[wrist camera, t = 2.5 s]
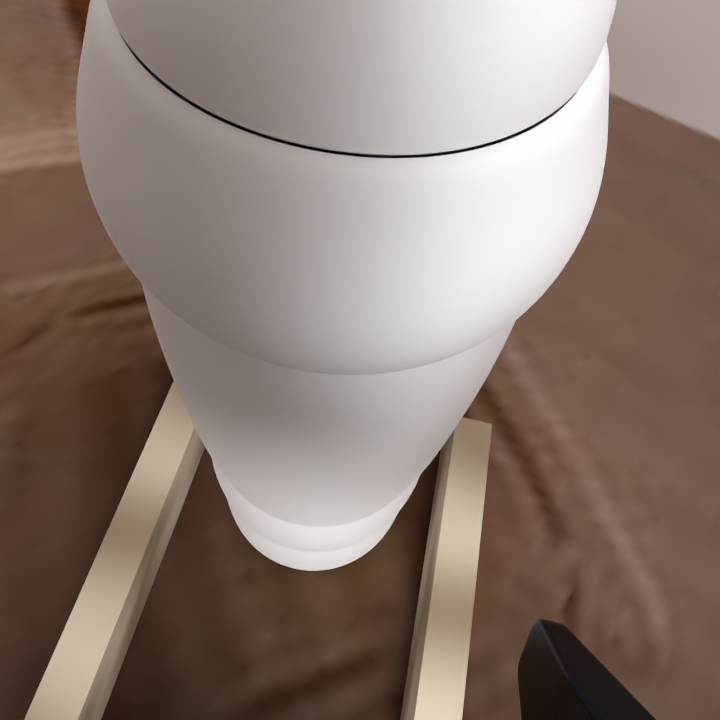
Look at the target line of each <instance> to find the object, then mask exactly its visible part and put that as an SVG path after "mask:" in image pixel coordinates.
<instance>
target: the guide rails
mask: <svg viewBox="0 0 720 720" xmlns="http://www.w3.org/2000/svg"><path fill="white" fill-rule="evenodd" d="M491 430H492V424H489V423H485V422H481V421H476V420H472V419H468V418H464V417H462V419H461V420H460V422H459V423H458V425H457V426H456V428H455V429H454V431H453V432H452V434H451V435H450V437H449V438H448V440H447V441H446V442H445V444H444V445H443V447H442V448H441V452H440V458H439V465H438V472H437V478H436V485H435V491H434V498H433V505H432V511H431V518H430V525H429V531H428V538H427V545H426V551H425V558H424V565H423V571H422V578H421V585H420V591H419V598H418V605H417V611H416V618H415V625H414V631H413V638H412V644H411V651H410V658H409V664H408V671H407V678H406V684H405V691H404V698H403V704H402V711H401V718H400V720H462V713H463V703H464V693H465V683H466V674H467V664H468V654H469V644H470V635H471V625H472V615H473V606H474V596H475V586H476V576H477V567H478V557H479V547H480V537H481V528H482V518H483V508H484V498H485V489H486V479H487V469H488V460H489V450H490V440H491ZM204 449H205V446H204V444H203V442H202V440H201V438H200V436H199V434H198V432H197V430H196V429H195V427H194V425H193V422H192V420H191V418H190V416H189V414H188V412H187V410H186V407H185V405H184V403H183V401H182V398H181V396H180V394H179V391H178V389H177V387H176V384H175V382H174V381H173V383H172V386H171V388H170V390H169V392H168V395H167V397H166V399H165V402H164V404H163V406H162V408H161V411H160V413H159V415H158V417H157V420H156V422H155V424H154V426H153V429H152V431H151V433H150V436H149V438H148V440H147V442H146V445H145V447H144V449H143V451H142V454H141V456H140V458H139V461H138V463H137V465H136V467H135V470H134V472H133V474H132V476H131V479H130V481H129V483H128V485H127V488H126V490H125V492H124V495H123V497H122V499H121V501H120V504H119V506H118V508H117V510H116V513H115V515H114V517H113V519H112V522H111V524H110V526H109V529H108V531H107V533H106V535H105V538H104V540H103V542H102V544H101V547H100V549H99V551H98V553H97V556H96V558H95V560H94V563H93V565H92V567H91V569H90V572H89V574H88V576H87V578H86V581H85V583H84V585H83V587H82V590H81V592H80V594H79V597H78V599H77V601H76V603H75V606H74V608H73V610H72V612H71V615H70V617H69V619H68V621H67V624H66V626H65V628H64V631H63V633H62V635H61V637H60V640H59V642H58V644H57V646H56V649H55V651H54V653H53V655H52V658H51V660H50V662H49V665H48V667H47V669H46V671H45V674H44V676H43V678H42V680H41V683H40V685H39V687H38V689H37V692H36V694H35V696H34V699H33V701H32V703H31V705H30V708H29V710H28V712H27V714H26V717H25V719H24V720H101V719H102V716H103V713H104V711H105V708H106V705H107V703H108V700H109V698H110V695H111V692H112V690H113V687H114V685H115V682H116V679H117V677H118V674H119V671H120V669H121V666H122V664H123V661H124V658H125V656H126V653H127V650H128V648H129V645H130V643H131V640H132V637H133V635H134V632H135V629H136V627H137V624H138V622H139V619H140V616H141V614H142V611H143V609H144V606H145V603H146V601H147V598H148V595H149V593H150V590H151V588H152V585H153V582H154V580H155V577H156V574H157V572H158V569H159V567H160V564H161V561H162V559H163V556H164V553H165V551H166V548H167V546H168V543H169V540H170V538H171V535H172V533H173V530H174V527H175V525H176V522H177V519H178V517H179V514H180V512H181V509H182V506H183V504H184V501H185V498H186V496H187V493H188V491H189V488H190V485H191V483H192V480H193V478H194V475H195V472H196V470H197V467H198V464H199V462H200V459H201V457H202V454H203V451H204Z"/></svg>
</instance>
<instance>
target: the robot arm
mask: <svg viewBox="0 0 720 720" xmlns="http://www.w3.org/2000/svg"><path fill="white" fill-rule="evenodd" d="M518 683H519V695H520V708H521V720H656V719H655V718H654V717H653V716H652V715H651V714H650V713H649V712H648V711H647V710H646V709H645V708H644V707H643V706H642V705H641V704H640V703H639V702H638V701H637V700H636V699H635V698H634V697H633V696H632V695H631V693H630V692H629V691H628V690H627V689H626V688H625V687H624V686H623V685H622V684H621V683H620V682H619V681H618V680H617V679H616V678H615V677H614V676H613V675H612V674H611V673H610V672H609V671H608V670H607V669H606V668H605V666H604V665H603V664H602V663H601V662H600V661H599V660H598V659H597V658H596V657H595V656H594V655H593V654H592V653H591V652H590V651H589V650H588V649H587V648H586V647H585V646H584V645H583V644H582V643H581V642H580V641H579V639H578V638H577V637H576V636H575V635H574V634H573V633H572V632H571V631H570V630H569V629H568V628H567V627H566V626H565V625H563V624H561V623H557V622H553V621H549V620H545V619H538V620H536V621H535V623H534V624H533V626H532V628H531V631H530V634H529V636H528V639H527V641H526V644H525V647H524V649H523V652H522V655H521V657H520V660H519V666H518Z"/></svg>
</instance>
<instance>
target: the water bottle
mask: <svg viewBox="0 0 720 720" xmlns="http://www.w3.org/2000/svg"><path fill="white" fill-rule="evenodd" d="M616 2H617V0H90V4H89V10H88V16H87V22H86V29H85V35H84V41H83V47H82V53H81V60H80V66H79V73H78V82H77V95H76V124H77V138H78V146H79V152H80V158H81V163H82V167H83V171H84V175H85V179H86V183H87V186H88V189H89V192H90V195H91V197H92V200H93V203H94V206H95V208H96V210H97V213H98V215H99V217H100V219H101V221H102V224H103V226H104V228H105V230H106V232H107V233H108V235H109V237H110V239H111V241H112V242H113V244H114V246H115V247H116V249H117V251H118V252H119V254H120V255H121V257H122V258H123V260H124V261H125V263H126V264H127V265H128V267H129V268H130V269H131V271H132V272H133V273H134V275H135V276H136V277H137V278H138V280H139V281H140V282H141V283H142V287H143V291H144V295H145V298H146V302H147V305H148V309H149V312H150V316H151V319H152V322H153V325H154V328H155V331H156V334H157V337H158V340H159V343H160V346H161V349H162V351H163V354H164V357H165V359H166V362H167V364H168V367H169V370H170V372H171V375H172V377H173V380H174V382H175V384H176V387H177V389H178V391H179V394H180V396H181V398H182V401H183V403H184V405H185V407H186V410H187V412H188V414H189V416H190V418H191V420H192V422H193V425H194V427H195V429H196V430H197V432H198V434H199V436H200V438H201V440H202V442H203V444H204V446H205V447H206V449H207V451H208V452H209V454H210V456H211V457H212V462H213V466H214V470H215V473H216V476H217V479H218V481H219V484H220V486H221V488H222V490H223V492H224V494H225V496H226V498H227V500H228V504H229V507H230V510H231V512H232V515H233V517H234V519H235V521H236V523H237V525H238V527H239V529H240V530H241V532H242V534H243V535H244V536H245V537H246V539H247V540H248V541H249V542H250V543H251V544H252V545H253V546H254V547H255V548H256V549H257V550H258V551H259V552H261V553H262V554H263V555H265V556H266V557H268V558H269V559H271V560H273V561H275V562H277V563H279V564H281V565H284V566H287V567H290V568H294V569H299V570H308V571H318V570H328V569H333V568H337V567H340V566H343V565H346V564H348V563H350V562H353V561H355V560H356V559H358V558H360V557H361V556H363V555H364V554H366V553H367V552H368V551H370V550H371V549H372V548H373V547H374V546H375V545H376V544H377V543H378V542H379V541H380V540H381V539H382V538H383V536H384V535H385V534H386V532H387V531H388V530H389V528H390V527H391V525H392V523H393V521H394V520H395V518H396V516H397V514H398V512H399V511H400V509H401V508H402V507H403V506H404V504H405V503H406V501H407V500H408V498H409V497H410V495H411V493H412V492H413V490H414V488H415V486H416V484H417V482H418V479H419V477H420V474H421V473H422V472H423V471H424V470H425V469H426V467H427V466H428V465H429V464H430V463H431V461H432V460H433V459H434V457H435V456H436V455H437V453H438V452H439V451H440V449H441V448H442V447H443V445H444V444H445V442H446V441H447V440H448V438H449V437H450V435H451V434H452V432H453V431H454V429H455V428H456V426H457V425H458V423H459V422H460V420H461V419H462V417H463V416H464V414H465V413H466V411H467V409H468V408H469V406H470V405H471V403H472V402H473V400H474V398H475V397H476V395H477V393H478V392H479V390H480V388H481V387H482V385H483V383H484V381H485V380H486V378H487V376H488V375H489V373H490V371H491V369H492V367H493V365H494V363H495V362H496V360H497V358H498V356H499V354H500V352H501V350H502V348H503V346H504V344H505V342H506V340H507V338H508V336H509V334H510V332H511V330H512V327H513V325H514V323H515V321H516V319H518V318H519V317H520V316H521V315H522V314H523V313H525V312H526V311H527V310H528V309H529V308H530V307H531V306H532V305H533V304H534V303H535V302H536V301H537V300H538V299H539V298H540V297H541V296H542V295H543V294H544V292H545V291H546V290H547V289H548V288H549V286H550V285H551V284H552V283H553V281H554V280H555V279H556V278H557V276H558V275H559V274H560V272H561V271H562V269H563V268H564V266H565V265H566V263H567V262H568V260H569V259H570V257H571V256H572V254H573V252H574V250H575V249H576V247H577V245H578V243H579V241H580V240H581V238H582V236H583V233H584V231H585V229H586V227H587V224H588V222H589V220H590V217H591V215H592V212H593V209H594V206H595V203H596V200H597V197H598V193H599V189H600V185H601V181H602V176H603V170H604V164H605V157H606V148H607V136H608V104H609V54H608V47H607V42H606V38H607V35H608V32H609V29H610V25H611V22H612V18H613V15H614V11H615V6H616Z"/></svg>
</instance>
